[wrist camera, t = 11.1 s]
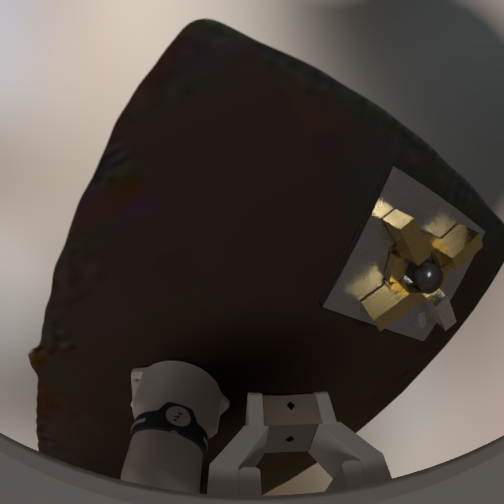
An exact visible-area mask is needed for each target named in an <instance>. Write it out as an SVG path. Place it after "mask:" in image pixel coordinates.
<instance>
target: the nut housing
mask: <svg viewBox="0 0 504 504" xmlns="http://www.w3.org/2000/svg"><path fill="white" fill-rule="evenodd" d="M395 209H396V210H399V211H401V212H403V213H405V214H407V215H409V216H411V217H413V218H414V219H415V221H416V223H417V225H418V227H419V229H420V231H421V232H422V233H428V234H433V235H436V236H438V237H440V238H441V239H442V238H443V237H444V236H445V235H447V234H448V233H449V232H450V231H451V230H452V229H453V228H454V227H456V226H457V225H458V224H461V225H464V226H466V227H468V228H470V229H472V230H474V231H476V232H478V233H480V237H481V240H482V238H483V236H484V234H485V231H484V230H483V229H481V228H480V227H479V226H478V225H477V224H475V223H474V222H473V221H471V220H470V219H469V218H468V217H466V216H465V215H464V214H463V213H461V212H460V211H459V210H457V209H456V208H455V207H453V206H452V205H451V204H449V203H448V202H446V201H445V200H444V199H442V198H441V197H439V196H438V195H437V194H435V193H434V192H432V191H431V190H429V189H428V188H427V187H425V186H424V185H422V184H421V183H419V182H418V181H416V180H415V179H413V178H411V177H410V176H408V175H407V174H405V173H404V172H402V171H401V170H399V169H397V168H396V167H394V166H390V165H387V166H386V168H385V170H384V173H383V175H382V177H381V180H380V182H379V184H378V186H377V188H376V191H375V193H374V195H373V197H372V199H371V201H370V204H369V206H368V208H367V210H366V212H365V214H364V216H363V218H362V220H361V222H360V224H359V227H358V229H357V231H356V233H355V235H354V237H353V239H352V241H351V243H350V245H349V246H348V248H347V250H346V252H345V254H344V256H343V258H342V260H341V262H340V264H339V266H338V268H337V270H336V271H335V273H334V275H333V277H332V279H331V281H330V283H329V284H328V286H327V288H326V290H325V292H324V293H323V295H322V297H321V299H320V303H321V305H322V307H323V308H326V309H329V310H332V311H335V312H338V313H341V314H343V315H346V316H349V317H352V318H355V319H358V320H361V321H364V322H367V323H370V324H373V325H376V324H375V323H374V321H373V320H372V318H371V317H370V315H369V314H368V312H367V311H366V309H365V308H364V306H363V305H362V303H361V302H362V301H363V300H365V299H366V298H367V297H369V296H370V295H371V294H373V293H374V292H376V291H377V290H378V289H380V288H381V287H382V286H384V285H385V284H386V283H385V280H386V278H385V277H384V274H385V271H386V267H387V263H388V260H389V256H390V252H391V253H396V251H395V249H394V247H395V246H396V243H395V241H394V239H393V237H392V235H391V234H390V232H389V230H388V228H387V226H386V225H385V223H384V221H383V218H385V217H386V216H387V215H389V214H390V213H391V212H392V211H394V210H395ZM430 253H431V252H430ZM474 255H475V254H474ZM474 255H473V256H472V257H471V258H470V259H469V260H468V261H467V262H466V263H465V264H464V265H463V266H462V267H460V268H459V269H458V270H457V271H456V270H455V269H453V268H452V267H451V270H450V274H449V277H448V280H447V283H446V285H445V287H444V286H441V284H442V281H443V272H442V270H441V269H440V268H439V267H437V266H436V265H435V264H434V262H435V261H434V259H433V257H432V254H431V256H430V257H429V258H427V259H426V260H425V261H424V262H423V263H421V264H420V265H419V266H417V265H416V264H415V263H413V262H412V261H409V262H408V265H407V269H406V272H405V276H404V279H403V280H404V282H405V284H406V286H407V287H414V288H417V287H419V288H420V289H421V290H422V291H423V292H424V293H426V294H431V293H434V292H435V291H436V290H438V288H439V287H440V286H441V289H442V292H443V293H444V294H446V295H447V296H448V298H449V301H450V300H451V298H452V296H453V294H454V293H455V291H456V289H457V287H458V286H459V284H460V282H461V280H462V278H463V276H464V275H465V273H466V271H467V269H468V267H469V265H470V263H471V261H472V259H473V257H474ZM435 324H436V321H435V320H434V318H433V317H432V316H431V315H430V313H429V311H428V309H427V307H426V305H425V304H424V303H423V302H422V305H421V307H420V306H414V307H413V308H411V309H410V310H409V311H408V312H406V313H405V314H404V315H402V316H401V317H400V318H398V319H397V320H396V321H394V322H393V323H391V324H390V325H389V326H387V327H386V328H385V329H388V330H391V331H394V332H397V333H400V334H403V335H406V336H409V337H412V338H415V339H418V340H421V341H424V340H425V339H426V337H427V336H428V334H429V333H430V331H431V330H432V328H433V327H434V325H435Z"/></svg>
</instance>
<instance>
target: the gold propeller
mask: <svg viewBox="0 0 504 504" xmlns="http://www.w3.org/2000/svg"><path fill="white" fill-rule="evenodd" d="M383 221H384V223H385V225H386V226H387V228H388V230H389V232H390V234H391V235H392V237H393V239H394V241H395V243H396V246H395V247H394V249H395V251H396V253H391V252H390V256H389V260H388V263H387V267H386V271H385V274H384V277H385V278H386V280H385V283H386V284H385V285H384V286H382V287H381V288H380V289H378V290H377V291H376V292H374V293H373V294H371V295H370V296H369V297H367V298H366V299H365V300H363V301H362V302H361V303H362V305H363V306H364V308H365V309H366V311H367V312H368V314H369V315H370V317H371V318H372V320H373V321H374V323H375V324H376V326H377V327H378V329H379V331H382V330H383V329H385V328H386V327H387V326H389V325H390V324H391V323H393V322H394V321H396V320H397V319H398V318H400V317H401V316H402V315H404V314H405V313H406V312H408V311H409V310H410V309H411V308H413V307H414V306H420V307H421V305H422V302H423V303H424V304H425V305H426V307H427V309H428V311H429V313H430V315H431V316H432V317H433V318H434V320H435V321H436V322H437V323H438V324H439V325H440V326H441V327H442V328H443V329H444V330H445V331H446V330H447V329H449V328H450V327H451V326H452V325H453V324H454V323H456V319H455V316H454V313H453V310H452V307H451V304H450V301H449V298H448V296H447V295H446V294H444V293H443V292H442V289H441V286H444V287H445V285H446V283H447V280H448V277H449V274H450V270H451V267H452V268H453V269H455V270H456V271H457V270H458V269H459V268H460V267H462V266H463V265H464V264H465V263H466V262H467V261H468V260H469V259H470V258H471V257H472V256H473V255H474V254H475V253H477V252H478V251H479V250H480V249H481V248H482V247H483V243H482V240H481V237H480V233H478V232H476V231H474V230H472V229H470V228H468V227H466V226H464V225H461V224H458V225H457V226H456V227H454V228H453V229H452V230H451V231H450V232H449V233H448V234H447V235H445V236H444V237H443V238H442V239H441V238H440V237H438V236H436V235H433V234H428V233H422V232H421V231H420V229H419V227H418V225H417V223H416V221H415V219H414V218H413V217H411V216H409V215H407V214H405V213H403V212H401V211H399V210H396V209H395V210H394V211H392V212H391V213H390V214H389V215H387V216H386V217H385V218H383ZM430 252H431V253H430ZM431 254H432V257H433V259H434V261H435V262H434V264H435V265H436V266H437V267H439V268H440V269H441V270H442V272H443V281H442V284H441V286H440V287H439V288H438V290H436V291H435V292H434V293H431V294H426V293H424V292H423V291H422V290H421V289H420V288H419V287H417V288H414V287H407V286H406V284H405V282H404V280H403V279H404V276H405V272H406V269H407V265H408V262H409V261H412V262H413V263H415V264H416V265H417V266H419V265H420V264H421V263H423V262H424V261H425V260H426V259H427V258H429V257H430V256H431Z"/></svg>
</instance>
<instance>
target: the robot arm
mask: <svg viewBox="0 0 504 504" xmlns="http://www.w3.org/2000/svg"><path fill="white" fill-rule="evenodd" d="M131 382H132V395H133V399H132V402H131V407H132V408H133V409H132V410H133V416H134V420H135V421H134V424H133V425H132V428H131V434H130V441H131V443H130V446H129V449H128V452H127V455H126V459H125V462H124V465H123V469H122V472H121V480H120V479H116V478H112V477H109V476H105V475H101V474H98V473H95V472H91V471H88V470H85V469H82V468H79V467H76V466H73V465H71V464H68V463H65V462H62V461H60V460H57V459H55V458H52V457H50V456H47V455H45V454H43V453H40V452H38V451H36V450H33V449H31V448H29V447H27V446H24V445H23V444H21V443H18V442H17V441H15V440H12V439H10V438H9V437H7V436H5V435H3V434H1V433H0V504H504V436H502V437H500V438H498V439H496V440H494V441H492V442H491V443H488V444H486V445H484V446H482V447H480V448H478V449H475V450H473V451H471V452H469V453H467V454H464V455H462V456H459V457H457V458H454V459H452V460H449V461H446V462H444V463H441V464H438V465H436V466H433V467H430V468H427V469H424V470H421V471H417V472H414V473H411V474H408V475H404V476H401V477H397V478H393V479H392V478H391V475H390V472H389V469H388V467H387V465H386V461H385V459H384V456H383V454H382V453H381V452H379V451H378V450H376V449H375V448H374V447H373V446H371V445H370V444H369V443H367V442H366V441H365V440H363V439H362V438H361V437H359V436H358V435H357V434H355V433H354V432H353V431H351V430H350V429H349V428H348V427H346V426H345V425H344V424H342V423H341V422H337V421H336V418H335V414H334V411H333V408H332V404H331V401H330V398H329V395H328V393H327V392H314V393H313V392H309V393H288V394H287V393H248V397H247V409H246V426H244V427H243V428H242V429H241V430H240V431H239V432H238V434H237V435H236V436H235V437H234V438H233V439H232V440H231V442H230V443H229V444H228V445H227V446H226V447H225V448H224V449H223V450H222V452H221V453H220V454H219V455H218V456H217V457H216V458H215V459H214V460H213V461H212V462H211V463H210V466H209V477H208V488H207V494H202V493H200V481H201V470H202V461H203V460H204V459H205V457H206V452H207V449H208V439H209V438H211V437H213V436H214V434H216V433H217V431H218V425H219V419H220V415H221V414H223V413H224V412H225V411H226V410H227V409H228V408H229V404H230V401H229V400H228V399H227V398H226V397H225V396H224V395H223V394H222V393H221V391H220V389H219V386H218V384H217V382H216V381H215V380H214V378H213V377H212V376H211V375H210V374H208V373H207V372H206V371H204V370H203V369H201V368H199V367H197V366H195V365H192V364H189V363H186V362H181V361H162V362H158V363H155V364H153V365H151V366H149V367H146V368H135V369H133V370H132V373H131ZM299 451H308V452H309V453H310V454H311V456H312V457H313V458H314V459H315V460H316V461H317V462H318V463H319V464H320V465H321V466H322V467H323V469H325V471H326V472H327V473H328V474H329V475H330V476H331V477H332V478H333V480H332V482H331V483H330V485H329V486H328V488H327V489H326V491H325V492H317V493H307V494H295V495H278V496H262V494H261V477H260V470H259V469H258V468H256V467H255V466H256V465H257V464H258V462H259V461H260V459H261V458H262V456H263V455H264V453H273V452H299Z"/></svg>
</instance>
